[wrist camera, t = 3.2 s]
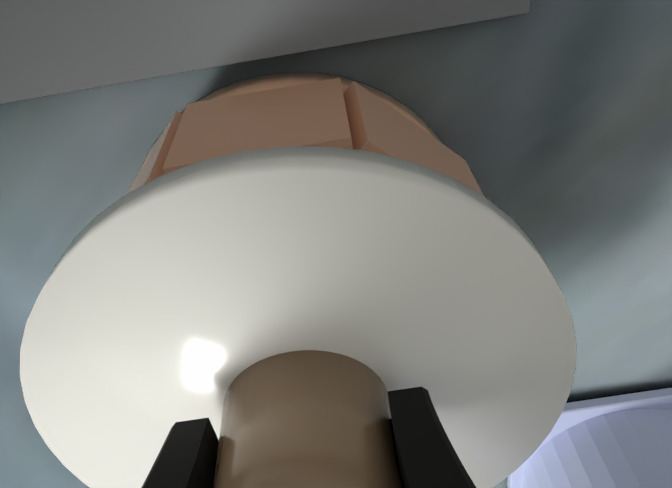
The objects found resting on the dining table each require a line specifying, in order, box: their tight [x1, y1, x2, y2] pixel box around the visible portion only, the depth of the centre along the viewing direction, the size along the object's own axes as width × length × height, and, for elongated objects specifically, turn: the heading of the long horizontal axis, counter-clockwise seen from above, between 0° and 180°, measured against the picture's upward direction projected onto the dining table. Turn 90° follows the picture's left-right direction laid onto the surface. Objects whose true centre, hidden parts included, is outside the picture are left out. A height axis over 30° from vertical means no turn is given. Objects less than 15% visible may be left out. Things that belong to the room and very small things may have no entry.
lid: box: [20, 146, 577, 488], centre depth 10 cm, size 10×10×5 cm
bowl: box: [126, 72, 484, 196], centre depth 14 cm, size 9×9×4 cm
